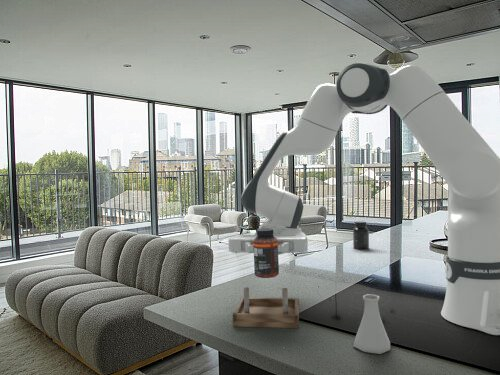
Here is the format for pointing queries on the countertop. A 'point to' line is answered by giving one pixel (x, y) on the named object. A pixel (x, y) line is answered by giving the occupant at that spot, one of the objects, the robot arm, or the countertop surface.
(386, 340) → the flask
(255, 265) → the supplement bottle
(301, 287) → the countertop surface
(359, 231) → the supplement bottle
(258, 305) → the tray
